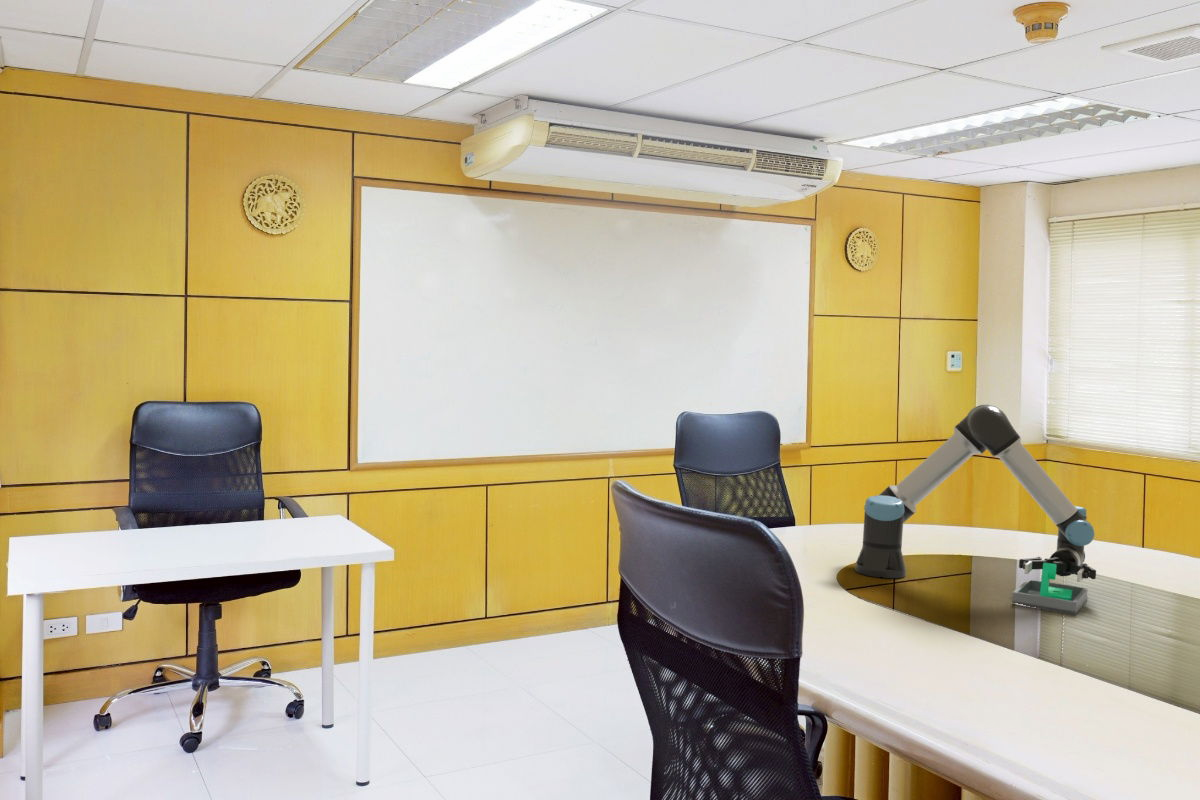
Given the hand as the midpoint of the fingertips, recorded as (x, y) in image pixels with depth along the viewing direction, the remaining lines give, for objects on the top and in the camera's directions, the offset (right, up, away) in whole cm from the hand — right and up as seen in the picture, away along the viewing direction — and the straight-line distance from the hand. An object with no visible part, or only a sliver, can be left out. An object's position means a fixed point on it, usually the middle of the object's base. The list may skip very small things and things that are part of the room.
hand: (1052, 573), depth 278 cm
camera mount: (+1, -8, 0) cm, 8 cm away
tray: (0, -9, +2) cm, 9 cm away
